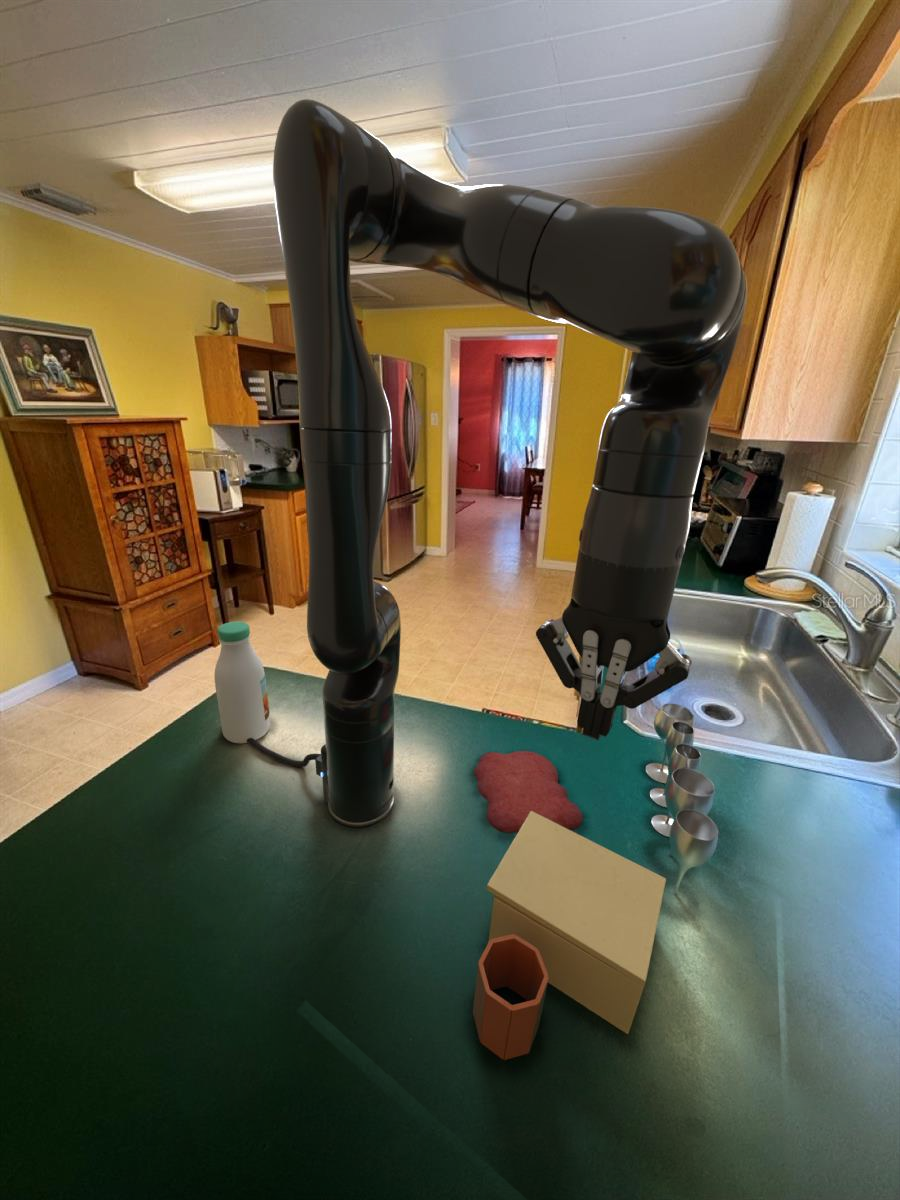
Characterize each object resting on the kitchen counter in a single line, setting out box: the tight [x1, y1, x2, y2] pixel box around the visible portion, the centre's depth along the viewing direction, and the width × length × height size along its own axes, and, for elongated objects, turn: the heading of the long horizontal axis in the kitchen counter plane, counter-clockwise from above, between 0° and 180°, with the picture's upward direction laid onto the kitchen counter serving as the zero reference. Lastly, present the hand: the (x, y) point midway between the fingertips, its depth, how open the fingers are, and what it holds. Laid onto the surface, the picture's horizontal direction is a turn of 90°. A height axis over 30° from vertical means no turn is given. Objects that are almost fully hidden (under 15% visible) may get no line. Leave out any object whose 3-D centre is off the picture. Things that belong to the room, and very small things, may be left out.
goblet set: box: [645, 703, 719, 896], centre depth 65 cm, size 28×6×13 cm, turn 161°
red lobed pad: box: [473, 750, 584, 834], centre depth 71 cm, size 18×14×2 cm
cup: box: [472, 934, 549, 1061], centre depth 43 cm, size 6×6×8 cm
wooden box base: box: [487, 895, 645, 1035], centre depth 50 cm, size 15×12×8 cm
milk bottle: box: [214, 621, 271, 744], centre depth 78 cm, size 8×8×20 cm
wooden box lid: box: [486, 811, 667, 987], centre depth 49 cm, size 16×12×1 cm
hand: (592, 732), depth 43 cm, fingers closed
